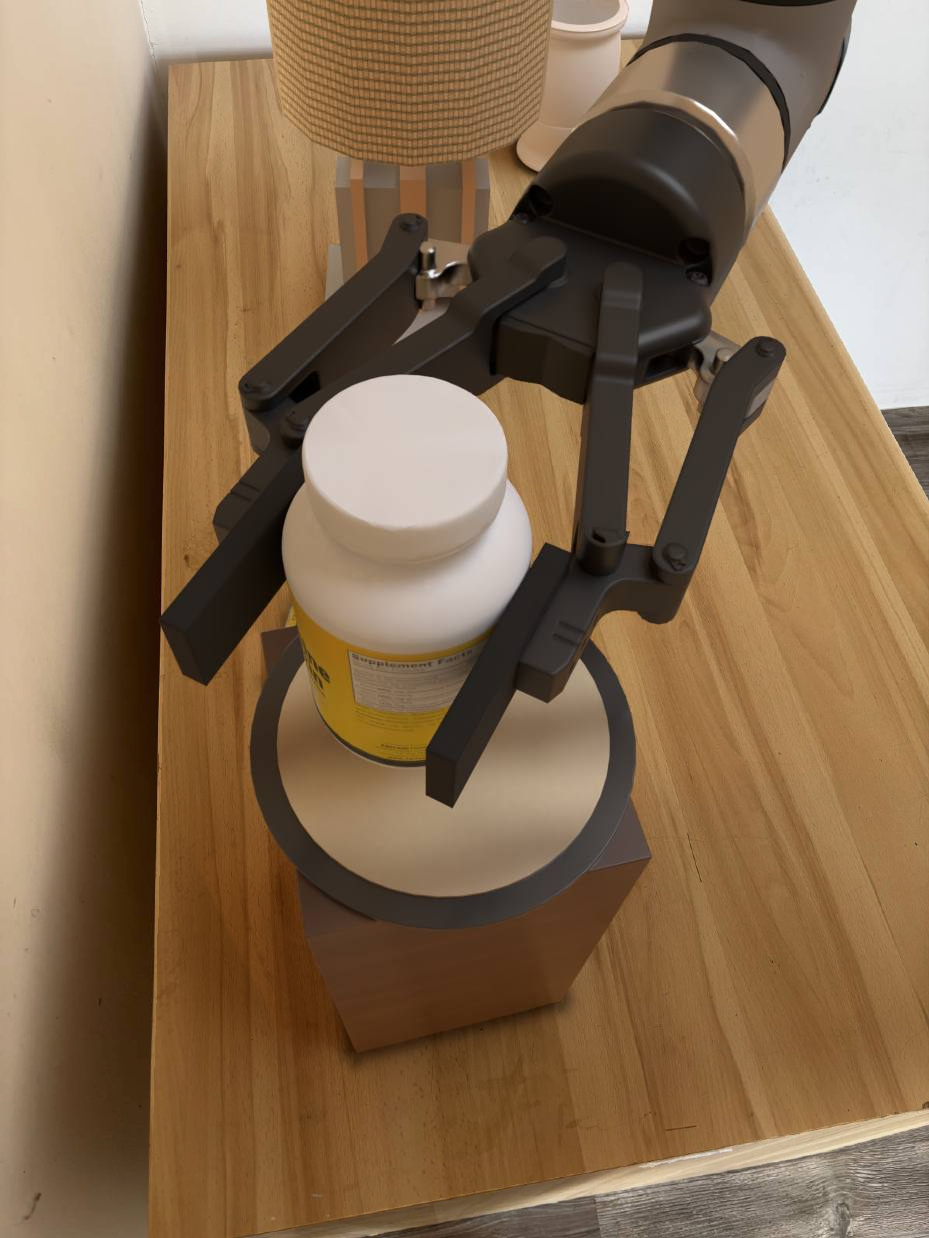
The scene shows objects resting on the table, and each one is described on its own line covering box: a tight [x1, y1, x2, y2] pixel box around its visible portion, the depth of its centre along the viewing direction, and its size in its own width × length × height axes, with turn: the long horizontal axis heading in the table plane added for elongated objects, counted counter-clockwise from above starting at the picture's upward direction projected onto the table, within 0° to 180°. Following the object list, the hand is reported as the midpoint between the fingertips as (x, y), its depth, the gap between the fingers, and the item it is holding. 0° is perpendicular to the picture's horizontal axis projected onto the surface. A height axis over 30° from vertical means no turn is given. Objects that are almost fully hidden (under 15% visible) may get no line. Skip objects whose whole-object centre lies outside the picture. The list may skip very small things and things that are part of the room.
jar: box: [516, 0, 630, 173], centre depth 94 cm, size 11×10×15 cm
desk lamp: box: [265, 0, 554, 345], centre depth 71 cm, size 20×20×35 cm
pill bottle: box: [282, 375, 533, 769], centre depth 26 cm, size 6×6×12 cm
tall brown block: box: [248, 625, 653, 1054], centre depth 45 cm, size 14×14×27 cm
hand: (308, 714), depth 22 cm, fingers closed on pill bottle, 6 cm apart
